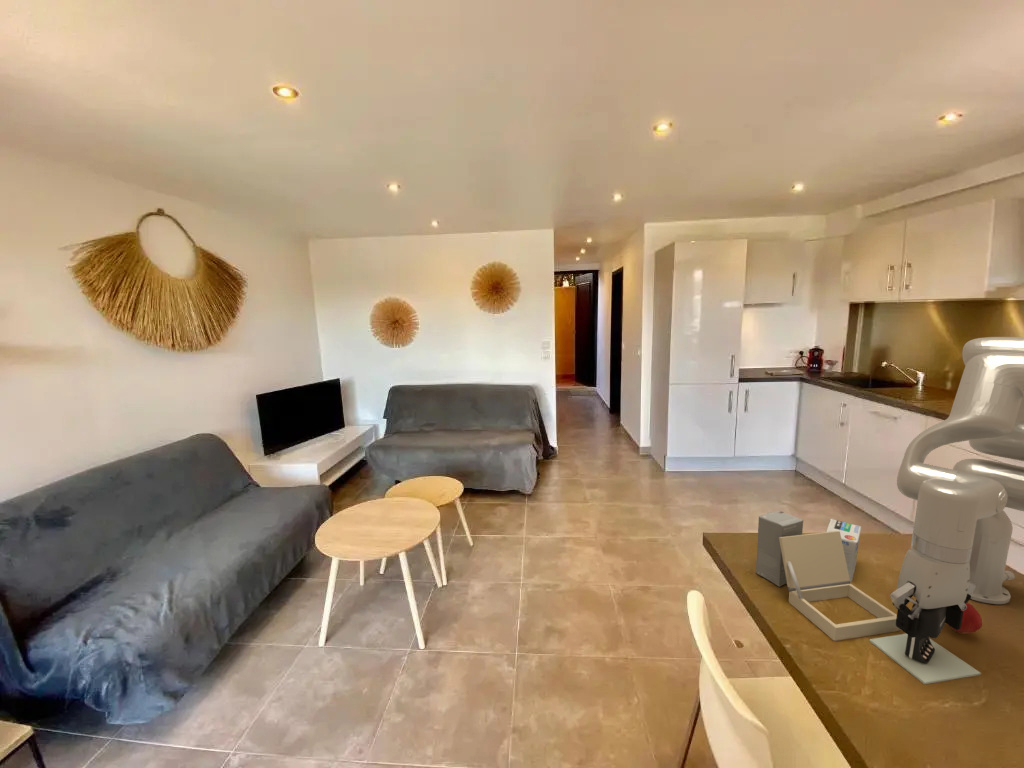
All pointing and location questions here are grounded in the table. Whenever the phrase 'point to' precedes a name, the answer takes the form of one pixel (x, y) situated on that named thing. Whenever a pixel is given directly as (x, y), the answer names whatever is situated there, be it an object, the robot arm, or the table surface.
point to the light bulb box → (847, 541)
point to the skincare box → (774, 544)
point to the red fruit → (970, 620)
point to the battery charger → (925, 634)
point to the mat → (935, 670)
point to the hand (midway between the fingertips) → (927, 627)
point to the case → (828, 584)
